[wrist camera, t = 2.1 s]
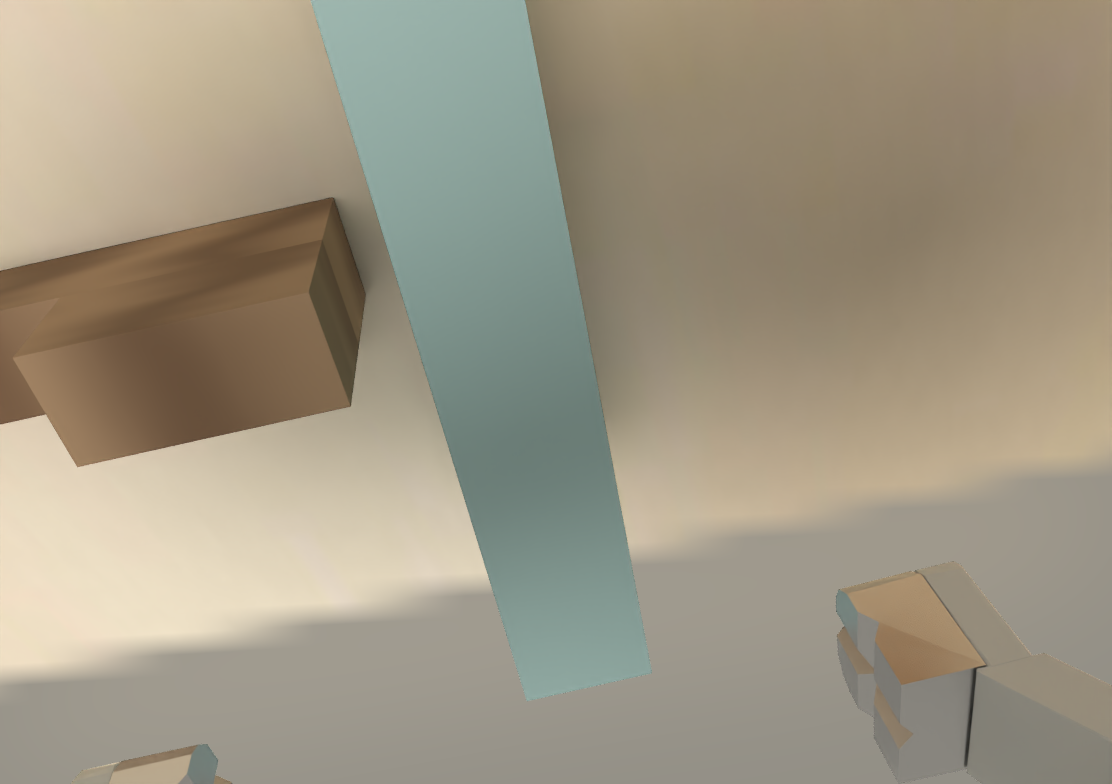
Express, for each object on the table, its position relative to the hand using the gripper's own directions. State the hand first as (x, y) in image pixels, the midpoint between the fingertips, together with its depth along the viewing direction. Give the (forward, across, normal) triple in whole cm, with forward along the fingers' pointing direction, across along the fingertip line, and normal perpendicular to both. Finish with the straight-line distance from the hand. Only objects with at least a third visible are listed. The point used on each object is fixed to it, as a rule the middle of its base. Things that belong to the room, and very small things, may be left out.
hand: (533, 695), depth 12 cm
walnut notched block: (+17, +12, 0) cm, 21 cm away
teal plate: (+16, -1, 0) cm, 16 cm away
